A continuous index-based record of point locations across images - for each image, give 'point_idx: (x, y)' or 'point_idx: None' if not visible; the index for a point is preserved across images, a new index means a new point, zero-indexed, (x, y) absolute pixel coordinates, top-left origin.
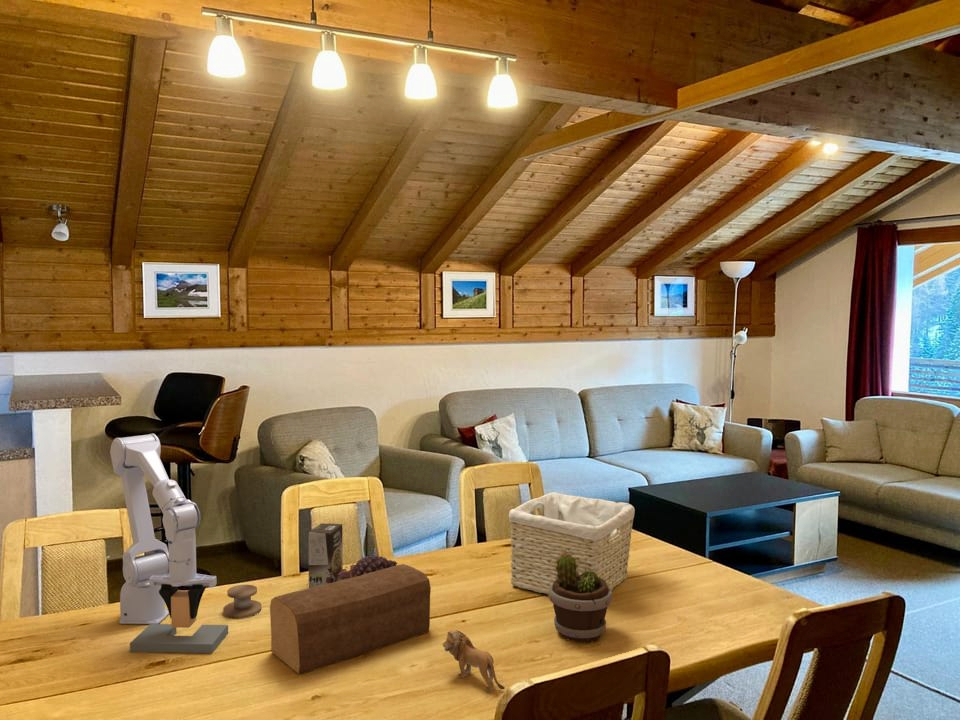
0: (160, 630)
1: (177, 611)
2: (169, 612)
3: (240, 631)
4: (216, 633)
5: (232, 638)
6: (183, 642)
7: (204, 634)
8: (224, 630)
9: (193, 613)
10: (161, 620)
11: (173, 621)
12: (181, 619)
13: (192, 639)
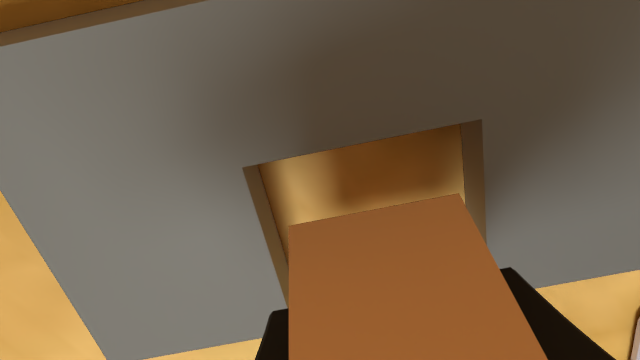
0: (566, 189)
1: (437, 326)
2: (546, 307)
3: (79, 352)
4: (77, 248)
5: (45, 274)
6: (224, 31)
7: (155, 211)
8: (80, 305)
9: (257, 352)
10: (635, 345)
11: (455, 233)
12: (371, 264)
13: (186, 109)
